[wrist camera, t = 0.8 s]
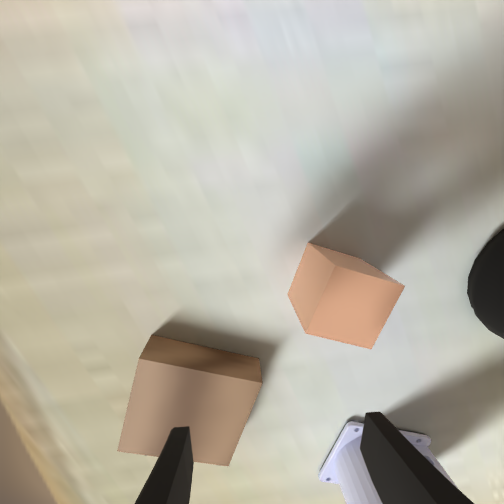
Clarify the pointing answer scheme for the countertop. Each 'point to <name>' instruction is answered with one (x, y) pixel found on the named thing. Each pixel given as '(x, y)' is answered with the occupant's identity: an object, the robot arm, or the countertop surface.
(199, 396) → the walnut box
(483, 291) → the coffee jar
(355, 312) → the peach block
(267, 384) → the countertop surface
